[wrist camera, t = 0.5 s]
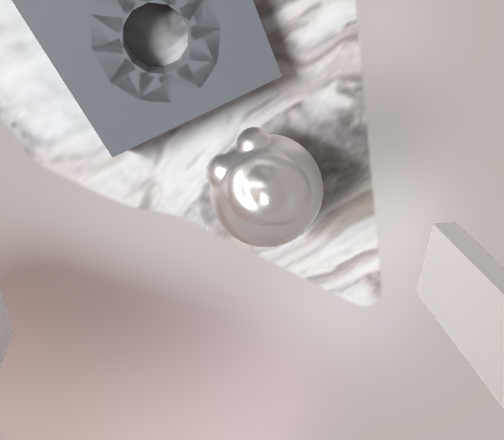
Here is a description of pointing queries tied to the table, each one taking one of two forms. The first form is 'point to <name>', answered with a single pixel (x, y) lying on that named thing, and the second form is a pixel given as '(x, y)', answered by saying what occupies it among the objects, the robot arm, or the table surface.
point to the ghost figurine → (265, 188)
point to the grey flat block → (150, 77)
